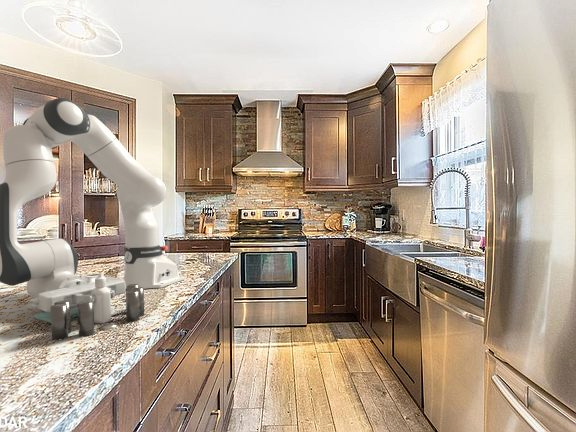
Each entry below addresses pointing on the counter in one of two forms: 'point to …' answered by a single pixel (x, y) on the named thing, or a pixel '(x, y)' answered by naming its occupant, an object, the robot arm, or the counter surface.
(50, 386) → the counter surface
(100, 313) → the eye dropper bottle
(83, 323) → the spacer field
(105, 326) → the grey flat disc
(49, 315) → the pad
